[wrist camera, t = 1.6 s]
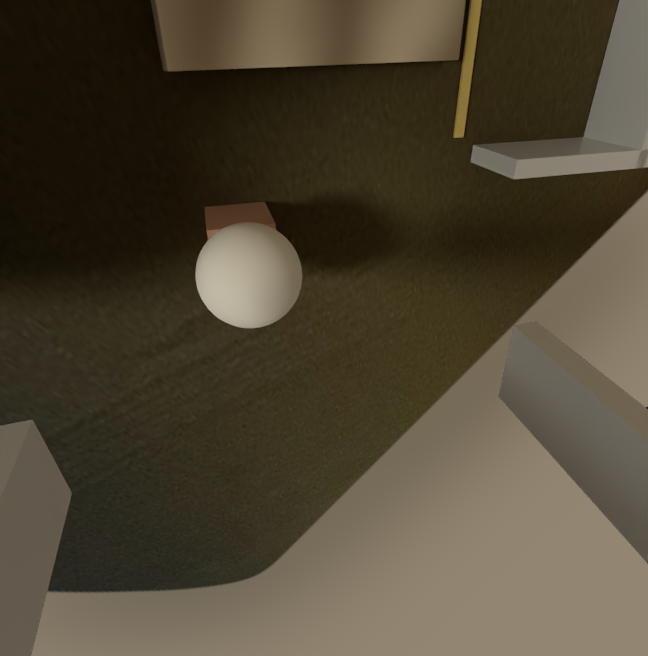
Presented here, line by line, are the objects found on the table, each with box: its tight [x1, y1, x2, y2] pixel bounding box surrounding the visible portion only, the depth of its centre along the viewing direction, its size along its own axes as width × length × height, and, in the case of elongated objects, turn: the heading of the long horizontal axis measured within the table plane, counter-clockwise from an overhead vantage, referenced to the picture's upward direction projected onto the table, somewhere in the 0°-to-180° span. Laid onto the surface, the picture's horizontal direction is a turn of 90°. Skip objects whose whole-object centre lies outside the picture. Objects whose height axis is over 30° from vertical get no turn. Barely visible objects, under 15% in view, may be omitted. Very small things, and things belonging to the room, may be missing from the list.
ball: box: [195, 222, 302, 328], centre depth 22 cm, size 5×5×5 cm
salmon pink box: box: [204, 202, 276, 240], centre depth 25 cm, size 3×3×4 cm
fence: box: [471, 0, 648, 179], centre depth 23 cm, size 9×15×4 cm, turn 1°
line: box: [453, 0, 482, 138], centre depth 24 cm, size 1×12×1 cm, turn 1°
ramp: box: [151, 0, 466, 71], centre depth 21 cm, size 15×4×4 cm, turn 91°
